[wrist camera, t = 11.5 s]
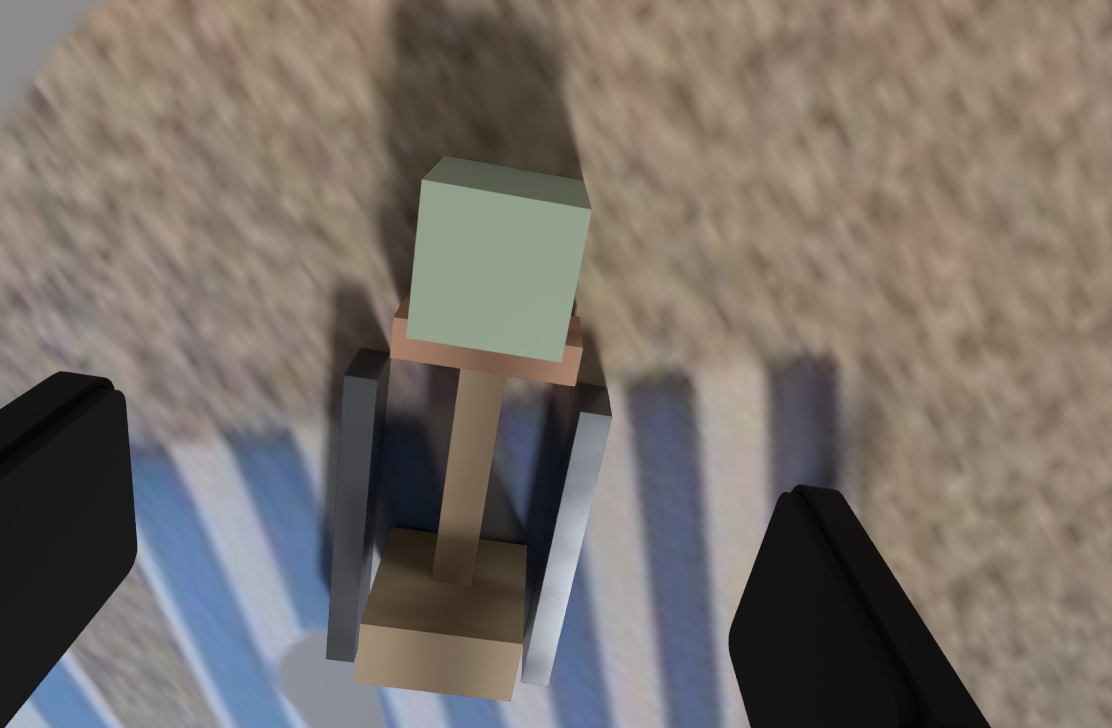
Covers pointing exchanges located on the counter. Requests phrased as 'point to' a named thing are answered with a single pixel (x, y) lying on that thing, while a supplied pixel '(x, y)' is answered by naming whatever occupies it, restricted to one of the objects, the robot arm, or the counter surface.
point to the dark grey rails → (360, 500)
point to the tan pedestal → (456, 546)
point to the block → (497, 258)
